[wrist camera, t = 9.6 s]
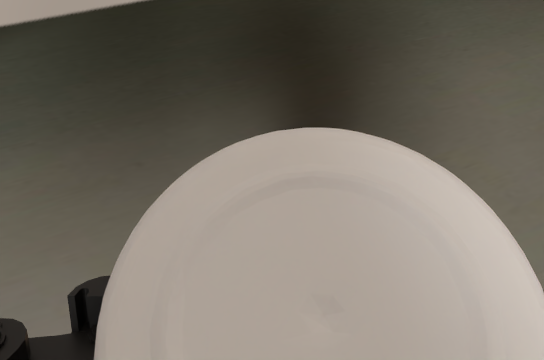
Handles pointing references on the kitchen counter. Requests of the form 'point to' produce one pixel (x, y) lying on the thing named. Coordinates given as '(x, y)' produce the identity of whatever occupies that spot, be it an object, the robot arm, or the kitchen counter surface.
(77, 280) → the kitchen counter surface
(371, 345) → the sprinkles bottle
